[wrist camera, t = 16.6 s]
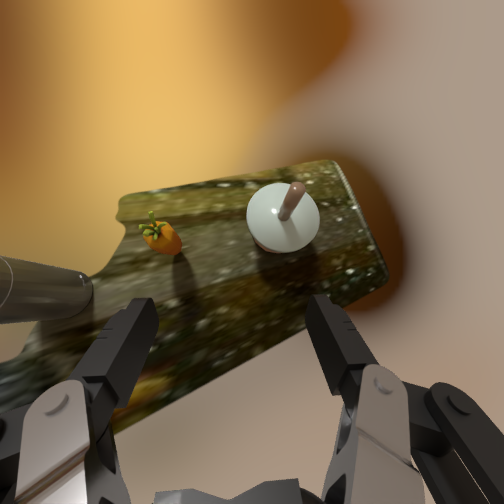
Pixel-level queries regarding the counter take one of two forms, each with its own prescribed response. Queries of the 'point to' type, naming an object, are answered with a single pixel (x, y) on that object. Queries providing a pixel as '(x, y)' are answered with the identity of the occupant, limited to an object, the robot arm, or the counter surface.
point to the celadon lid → (283, 217)
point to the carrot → (161, 237)
